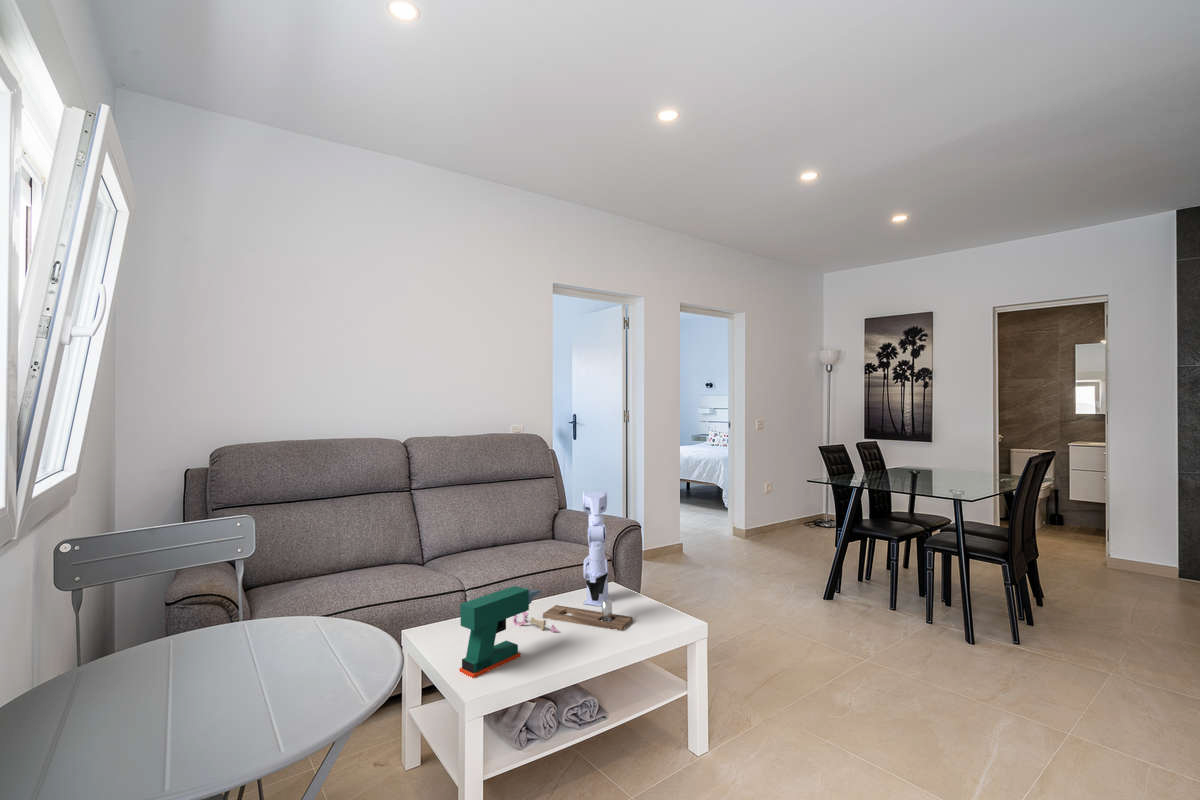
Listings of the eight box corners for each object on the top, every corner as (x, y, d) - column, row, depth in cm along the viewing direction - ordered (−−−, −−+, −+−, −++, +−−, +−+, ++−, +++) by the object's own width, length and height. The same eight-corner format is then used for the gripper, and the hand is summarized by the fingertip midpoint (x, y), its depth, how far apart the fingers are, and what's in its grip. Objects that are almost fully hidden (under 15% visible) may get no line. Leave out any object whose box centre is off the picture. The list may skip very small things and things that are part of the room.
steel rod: (604, 620, 209) (604, 598, 209) (613, 621, 207) (613, 599, 208) (600, 623, 206) (600, 601, 206) (609, 625, 204) (609, 602, 204)
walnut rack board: (556, 608, 221) (555, 605, 221) (632, 621, 208) (632, 616, 208) (542, 617, 212) (542, 613, 212) (622, 630, 199) (622, 626, 199)
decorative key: (556, 642, 197) (510, 623, 206) (558, 641, 198) (512, 622, 207) (559, 623, 196) (513, 605, 206) (561, 622, 197) (515, 604, 207)
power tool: (535, 637, 194) (535, 578, 194) (550, 642, 190) (550, 582, 190) (458, 671, 169) (457, 603, 170) (473, 678, 165) (472, 608, 165)
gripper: (591, 553, 214) (591, 589, 214) (581, 564, 200) (581, 603, 200) (609, 554, 213) (609, 591, 212) (601, 565, 198) (601, 604, 198)
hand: (597, 596), depth 206 cm, fingers open, 7 cm apart
